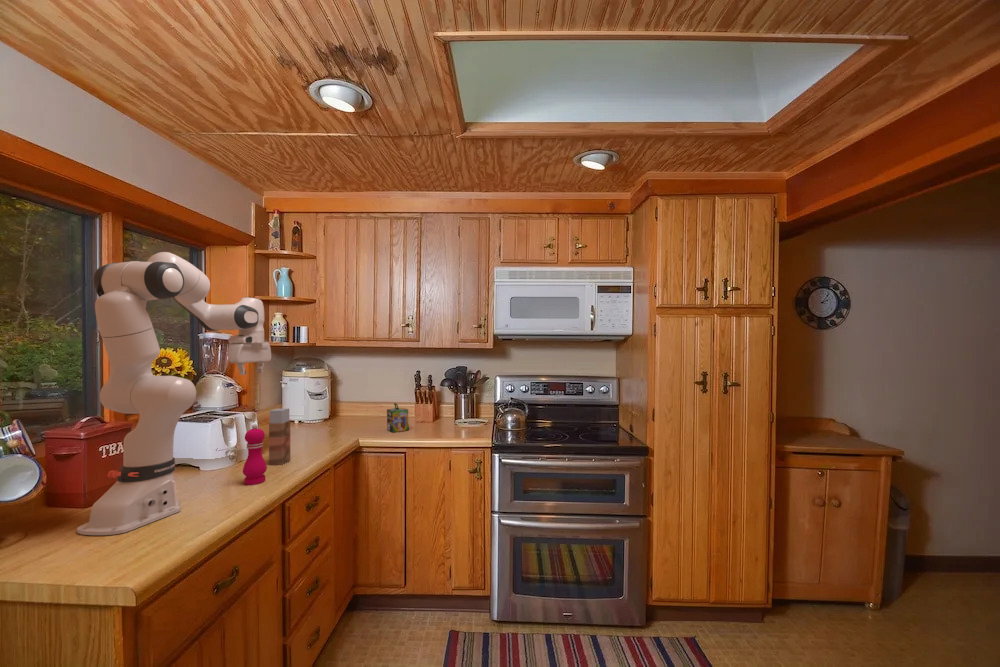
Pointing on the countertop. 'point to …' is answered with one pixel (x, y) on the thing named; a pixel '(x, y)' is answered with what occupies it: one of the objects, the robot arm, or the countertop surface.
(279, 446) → the tower mid
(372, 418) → the countertop surface
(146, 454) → the robot arm
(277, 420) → the grey cube
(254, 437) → the pepper mill
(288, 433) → the tower top
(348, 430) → the countertop surface
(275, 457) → the tower base
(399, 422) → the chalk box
